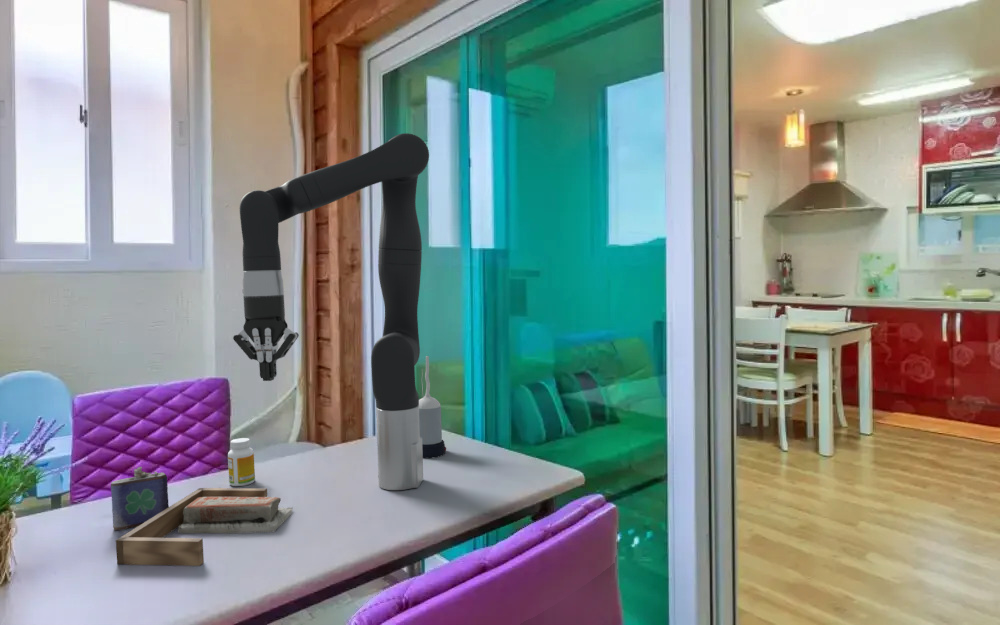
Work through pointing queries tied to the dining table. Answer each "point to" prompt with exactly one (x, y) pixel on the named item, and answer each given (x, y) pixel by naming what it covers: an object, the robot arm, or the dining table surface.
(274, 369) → the robot arm
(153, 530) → the frame
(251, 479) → the supplement bottle
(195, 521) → the packaged product
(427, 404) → the humidifier
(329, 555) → the dining table surface
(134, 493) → the flask
